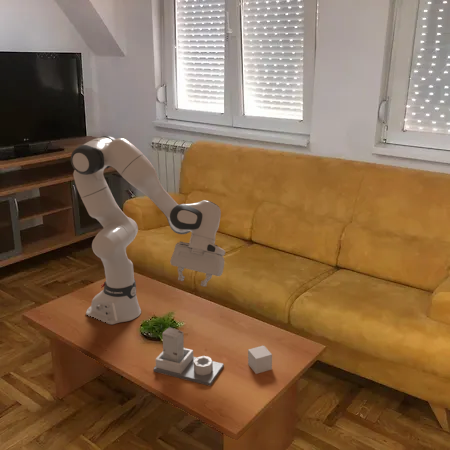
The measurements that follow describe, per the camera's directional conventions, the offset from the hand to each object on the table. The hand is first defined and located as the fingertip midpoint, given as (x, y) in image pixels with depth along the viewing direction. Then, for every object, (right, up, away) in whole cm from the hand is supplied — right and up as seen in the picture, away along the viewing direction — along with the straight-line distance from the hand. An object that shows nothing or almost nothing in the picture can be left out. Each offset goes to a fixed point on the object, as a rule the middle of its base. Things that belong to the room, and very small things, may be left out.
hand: (191, 283), depth 183 cm
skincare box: (-5, -27, -7) cm, 28 cm away
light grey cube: (+24, -28, -8) cm, 37 cm away
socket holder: (0, -28, -9) cm, 29 cm away
